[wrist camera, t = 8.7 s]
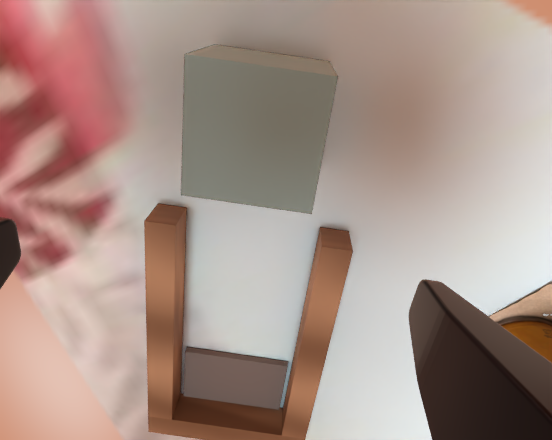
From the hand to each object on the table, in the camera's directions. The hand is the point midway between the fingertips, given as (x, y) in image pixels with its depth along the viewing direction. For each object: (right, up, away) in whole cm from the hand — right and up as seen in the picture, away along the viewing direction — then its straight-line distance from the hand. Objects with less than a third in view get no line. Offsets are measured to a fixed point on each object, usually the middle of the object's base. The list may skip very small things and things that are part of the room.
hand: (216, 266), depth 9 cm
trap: (-1, -9, +17) cm, 20 cm away
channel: (-1, -5, +15) cm, 16 cm away
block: (+1, +6, +10) cm, 11 cm away
